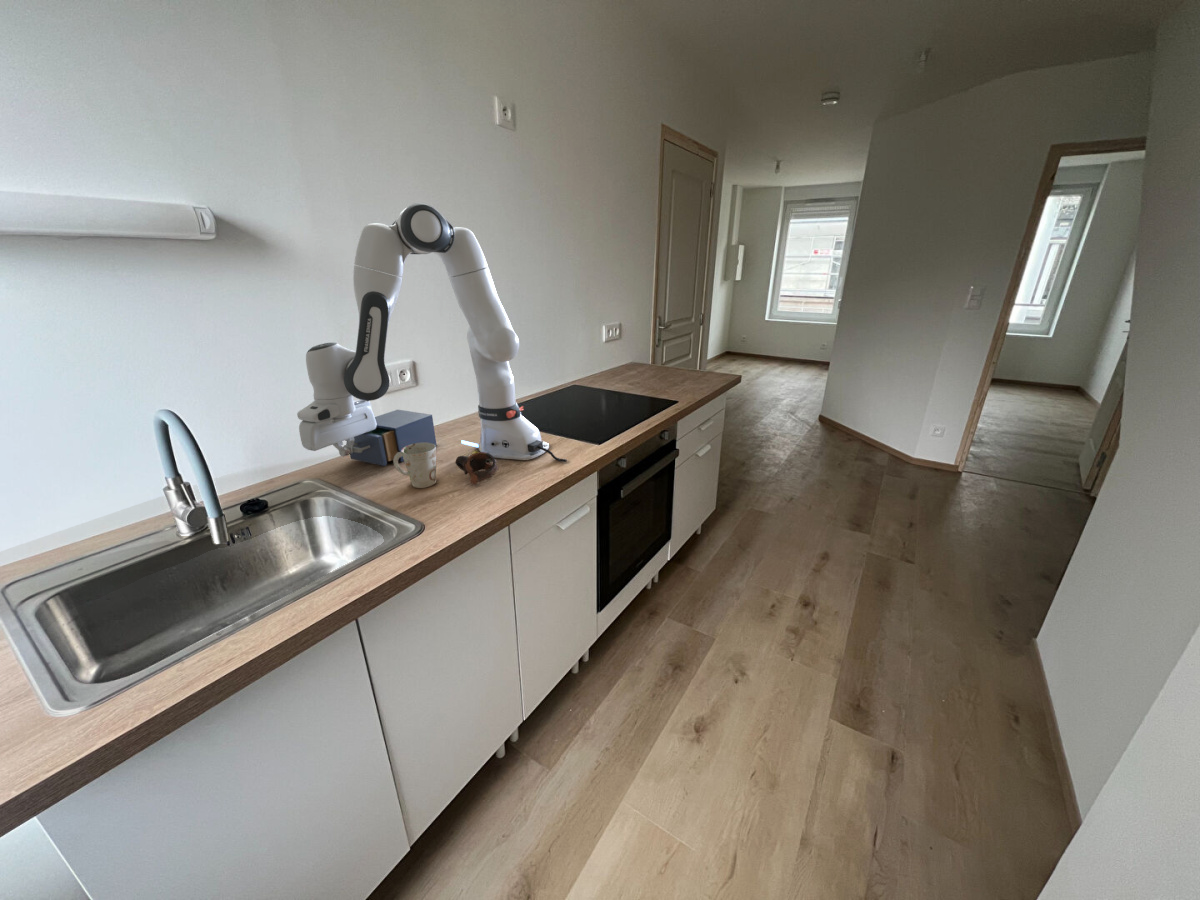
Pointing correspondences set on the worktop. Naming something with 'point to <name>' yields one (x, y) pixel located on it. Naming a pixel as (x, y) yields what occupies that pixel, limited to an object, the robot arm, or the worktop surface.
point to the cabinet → (408, 427)
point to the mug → (418, 463)
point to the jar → (379, 433)
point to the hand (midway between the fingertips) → (346, 454)
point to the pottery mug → (477, 466)
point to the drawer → (374, 448)
